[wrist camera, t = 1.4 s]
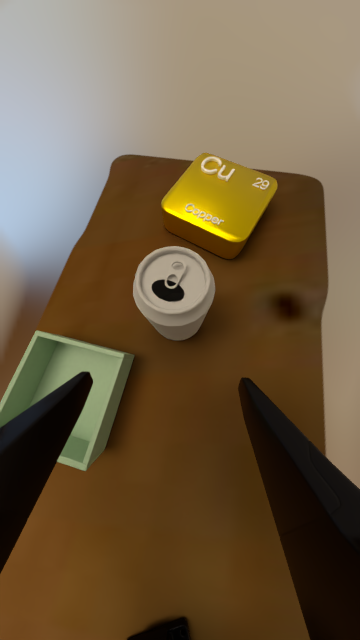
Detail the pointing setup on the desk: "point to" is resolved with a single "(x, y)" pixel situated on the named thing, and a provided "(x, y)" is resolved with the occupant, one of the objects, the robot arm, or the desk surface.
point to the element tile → (217, 204)
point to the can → (174, 291)
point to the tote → (56, 369)
